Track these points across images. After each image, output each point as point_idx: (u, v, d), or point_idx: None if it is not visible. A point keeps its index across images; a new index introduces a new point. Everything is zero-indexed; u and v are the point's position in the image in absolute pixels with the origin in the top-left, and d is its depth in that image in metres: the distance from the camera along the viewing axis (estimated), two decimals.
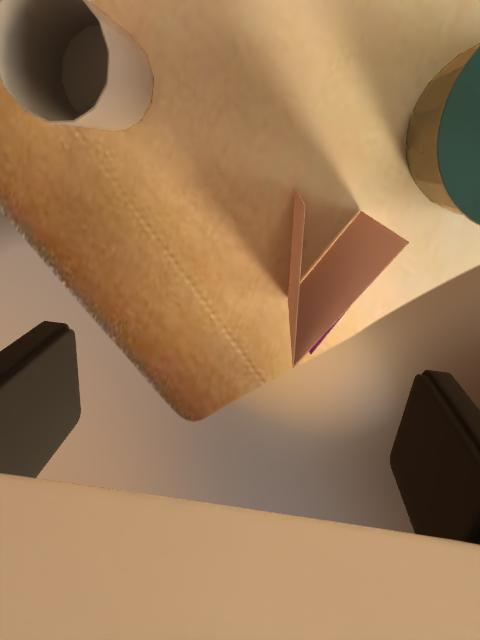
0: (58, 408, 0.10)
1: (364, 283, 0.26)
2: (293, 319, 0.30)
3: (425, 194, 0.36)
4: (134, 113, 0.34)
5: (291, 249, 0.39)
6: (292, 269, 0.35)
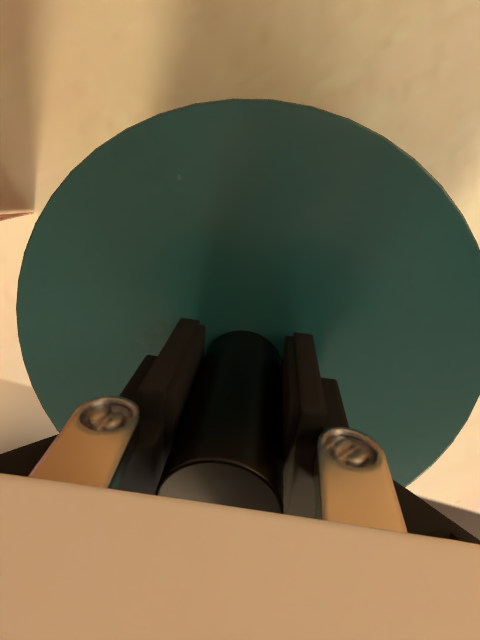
0: None
1: None
2: None
3: None
4: None
5: None
6: None
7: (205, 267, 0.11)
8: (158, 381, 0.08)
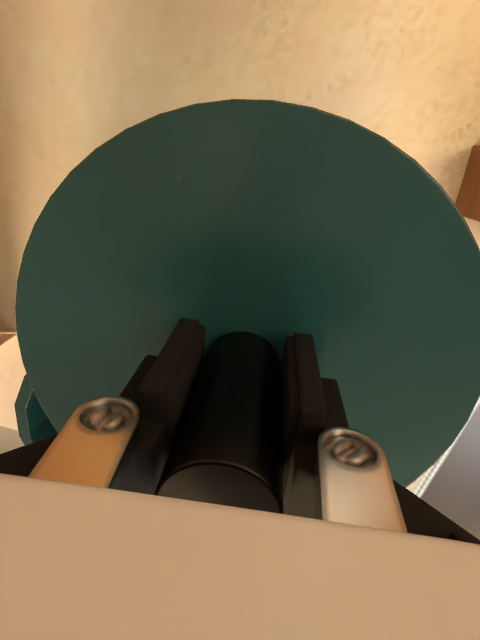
0: None
1: None
2: None
3: None
4: None
5: None
6: None
7: (205, 267, 0.11)
8: (158, 381, 0.08)
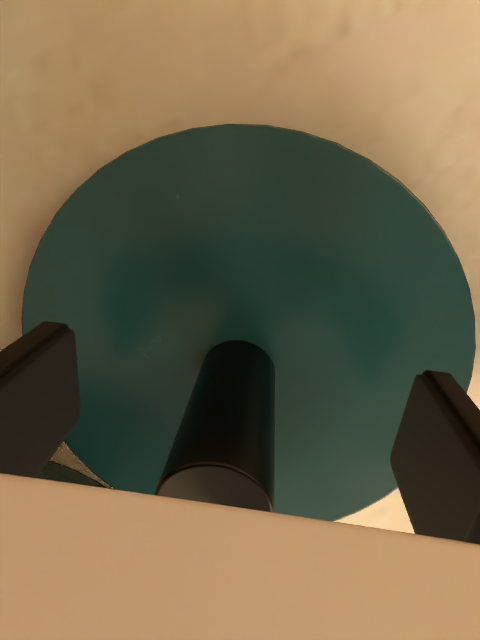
0: (58, 408, 0.10)
1: None
2: None
3: None
4: None
5: None
6: None
7: (202, 280, 0.12)
8: None
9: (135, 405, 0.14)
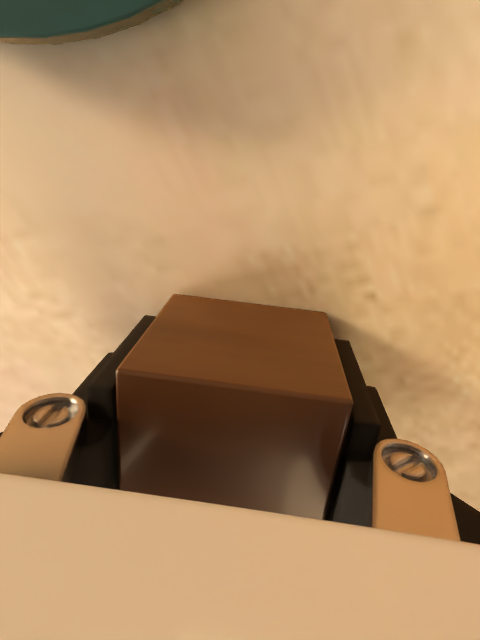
0: None
1: None
2: None
3: None
4: None
5: None
6: None
7: None
8: (108, 378, 0.08)
9: None
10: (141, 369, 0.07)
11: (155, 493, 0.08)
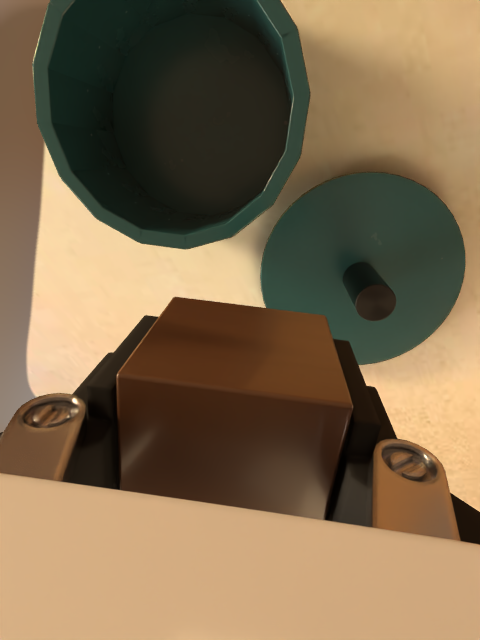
0: None
1: None
2: None
3: None
4: None
5: None
6: None
7: (405, 265, 0.28)
8: (108, 378, 0.08)
9: (344, 227, 0.28)
10: (141, 373, 0.07)
11: None
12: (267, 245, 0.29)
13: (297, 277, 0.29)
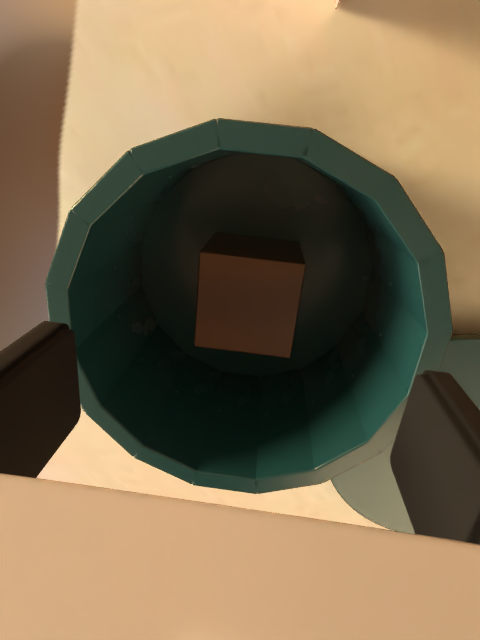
0: (58, 408, 0.10)
1: None
2: None
3: None
4: None
5: None
6: None
7: None
8: None
9: None
10: (211, 252, 0.16)
11: (213, 318, 0.17)
12: None
13: None
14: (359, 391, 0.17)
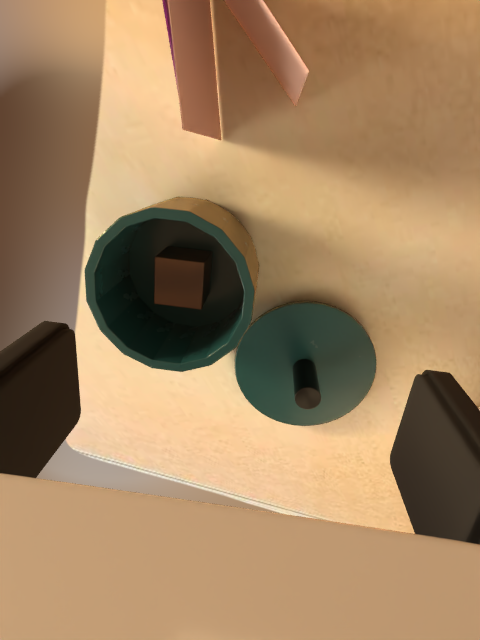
0: (58, 408, 0.10)
1: (177, 49, 0.20)
2: None
3: (186, 197, 0.36)
4: None
5: (252, 39, 0.30)
6: (240, 9, 0.26)
7: (335, 361, 0.40)
8: None
9: (291, 337, 0.40)
10: (160, 256, 0.34)
11: (163, 289, 0.35)
12: (238, 347, 0.41)
13: (261, 367, 0.41)
14: (233, 325, 0.35)
